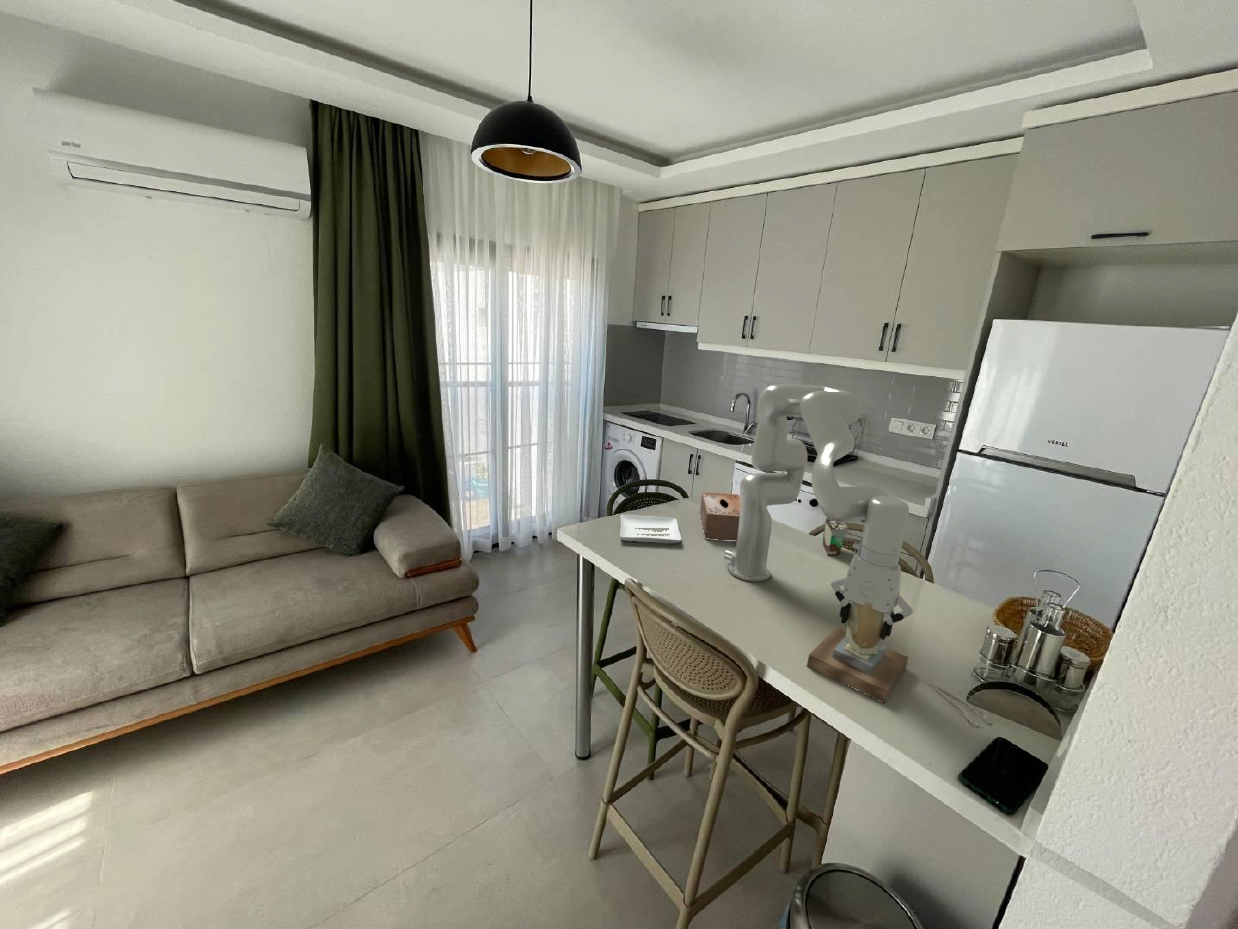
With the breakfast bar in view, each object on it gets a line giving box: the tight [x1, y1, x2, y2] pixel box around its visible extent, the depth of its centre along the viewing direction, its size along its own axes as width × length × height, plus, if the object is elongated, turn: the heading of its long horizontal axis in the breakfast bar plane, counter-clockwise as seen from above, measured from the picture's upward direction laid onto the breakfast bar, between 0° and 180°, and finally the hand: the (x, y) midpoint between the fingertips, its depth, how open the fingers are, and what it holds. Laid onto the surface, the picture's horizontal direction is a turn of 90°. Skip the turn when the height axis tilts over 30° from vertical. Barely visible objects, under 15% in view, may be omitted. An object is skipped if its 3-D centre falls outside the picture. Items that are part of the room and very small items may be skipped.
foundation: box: [806, 626, 909, 703], centre depth 112 cm, size 16×16×5 cm
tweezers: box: [921, 678, 992, 728], centre depth 106 cm, size 18×5×2 cm, turn 16°
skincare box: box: [845, 601, 885, 654], centre depth 110 cm, size 6×4×12 cm
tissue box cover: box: [699, 491, 740, 541], centre depth 191 cm, size 26×14×10 cm, turn 175°
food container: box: [821, 517, 849, 557], centre depth 174 cm, size 12×6×10 cm, turn 168°
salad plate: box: [619, 514, 682, 545], centre depth 182 cm, size 21×21×3 cm
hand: (863, 628), depth 111 cm, fingers open, 7 cm apart
